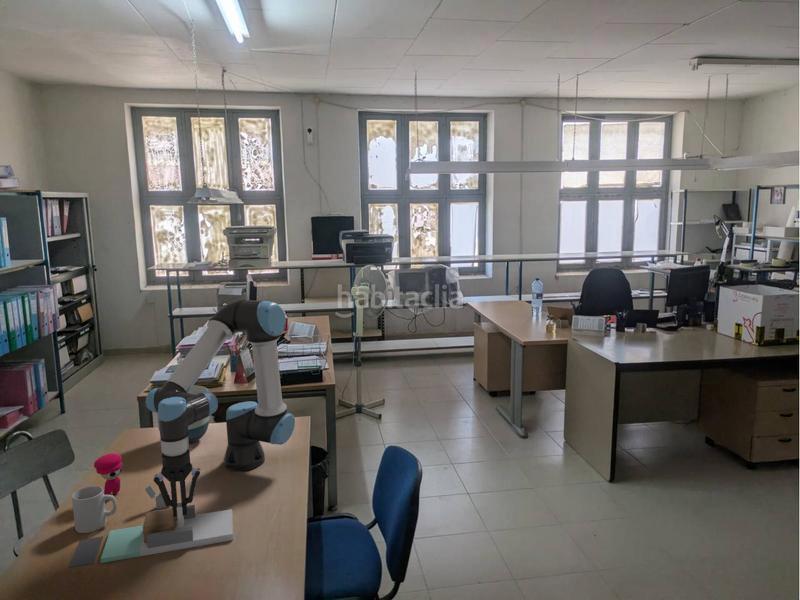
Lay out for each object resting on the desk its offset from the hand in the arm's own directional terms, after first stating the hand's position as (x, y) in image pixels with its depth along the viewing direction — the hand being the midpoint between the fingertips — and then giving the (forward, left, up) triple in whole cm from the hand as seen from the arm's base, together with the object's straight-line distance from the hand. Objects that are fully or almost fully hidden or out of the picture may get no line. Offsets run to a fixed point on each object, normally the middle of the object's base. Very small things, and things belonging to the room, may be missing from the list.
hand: (181, 525), depth 162 cm
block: (+6, 0, -2) cm, 6 cm away
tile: (+15, 0, -4) cm, 16 cm away
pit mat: (+25, 0, -4) cm, 26 cm away
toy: (+24, -31, -4) cm, 40 cm away
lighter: (+8, -19, -4) cm, 21 cm away
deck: (-2, 0, -4) cm, 4 cm away
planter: (+3, -70, -4) cm, 70 cm away
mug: (+25, -14, -4) cm, 29 cm away
